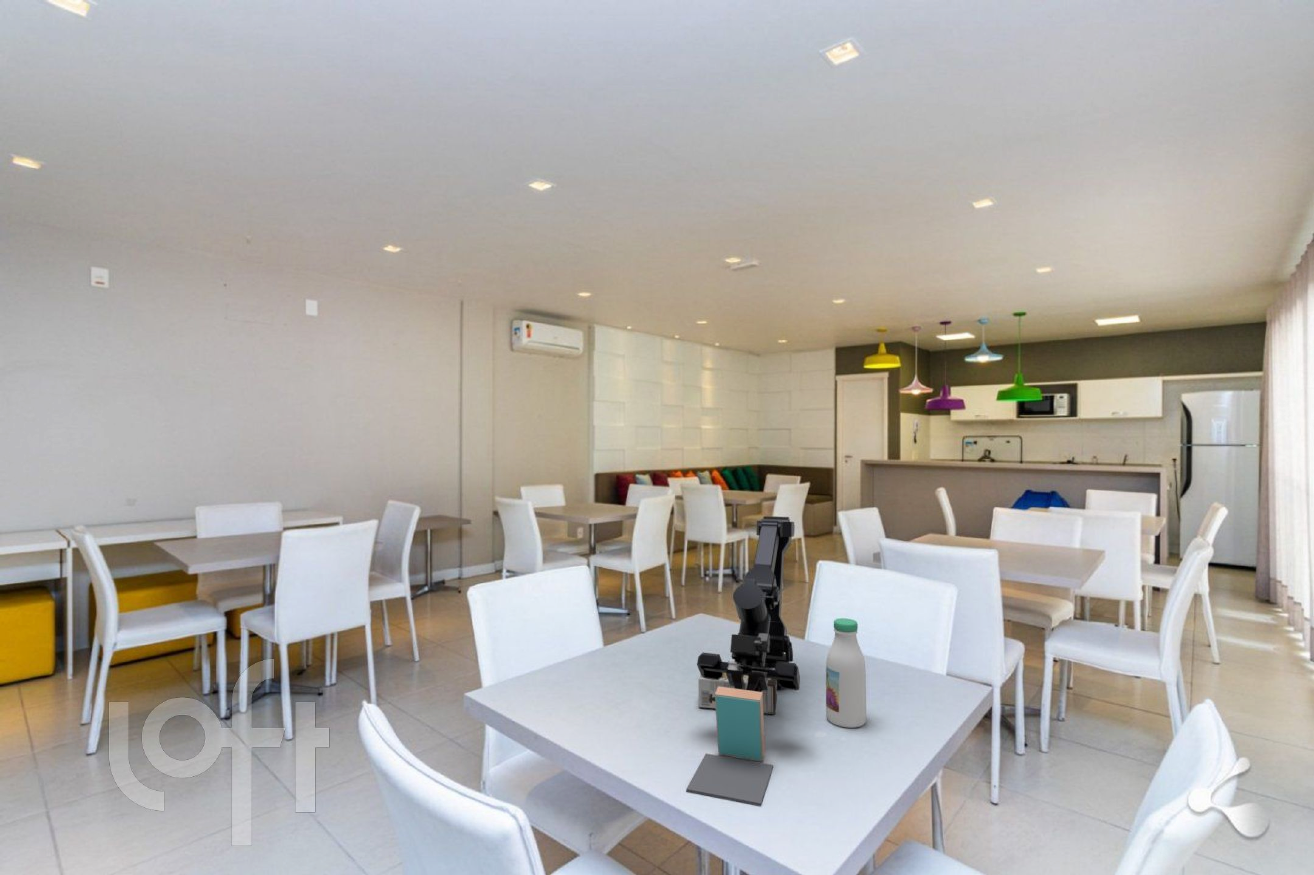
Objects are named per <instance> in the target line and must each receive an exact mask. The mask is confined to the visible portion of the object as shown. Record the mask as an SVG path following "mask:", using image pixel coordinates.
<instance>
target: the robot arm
mask: <svg viewBox="0 0 1314 875" xmlns="http://www.w3.org/2000/svg"><path fill="white" fill-rule="evenodd" d="M795 526H796V525H795V521H791V519H790V517H789V516H775V515H773V516H771V515H764V516H763V518H761V519H760V520H759V519H757V520H756V533H755V534H756V536H758V541H757V545H756V549H755V550H756V551H755V555H754V556H755V557H754V560H753V566H752V568H751V569H750V570H748V571H747V572H746V573H745V576H744V579H743V583H741V584H740V585H738V586H737V587H736V589H734V591H733V593H732V599H733V603H734V606H735V609H736V613H737V616H738V619H739V620H740V625H739V629H738V633H737V634H731V638H730V639H731V640H730V648H729V649H730V653H731V656H730V657H731V659H732V660H733V661H731V660H729V661H723V660H722V657H721V654H720V653H719V654H718V653H712V652H711V653H710V652H702V653H701V654H699V656H698V658H697V660H696V661H697V662H696V665H697V668H698V671H699V673H700V675H701V676H702V677H703V678H705V679H713V680H719V679H720V678H722V677H723V673H726V676H727V678H728V681H729V684H730V685H731V686H734V687H735V689H742V690H745V683H744V680H743V678H744V675H747V676H748V684H747V689H746V690H749V691H757V692H762V691H763V690H768V685H767V682H768V679H769V678H771V679H777V691H781V690H791V691H792V690H793V691H799V690H800V682H801V675H800V670H799V669H800V668H799V666H798V665H797V663H795V662H793V661H794V651H793V643H792V641H791V640H790V636H789V635H788V629H787V626H786V625H785V622H784V621H783V618H782V603H783V602H782V600H783V599H782V598H783V584H784V582H783V581H784V564H785V563H784V560H785V555H786V553H787V551H788V550H789V549H790V547H791V546H792V538H793V537H794V536H795V531H796V530H795Z"/></svg>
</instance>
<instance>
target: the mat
mask: <svg viewBox="0 0 1314 875" xmlns="http://www.w3.org/2000/svg"><path fill="white" fill-rule="evenodd" d="M773 769H774V765H773V764H770V763H763V762H760V761H754V760H748V759H742V758H736V757H731V756H725V755H719V754H717V755H716V754H711V753H705V754H704V756H703V758H702V759H701V761H700V763H699V765H698V767H697V769H696V771H695V772H694V773H693V776H692V778H691V780H690V781H689V783H688V785H687V786H686V789H685V790H686V792H688V793H693V794H696V795H697V794H698V795H703V796H708V797H713V798H718V799H722V800H729V801H733V802H734V801H735V802H739V803H744V804H749V805H754V806H759V807H760V806H762V804H763V801H764V797H765V794H766V791H767V787H768V784H769V782H770V779H771V775H772V773H773Z"/></svg>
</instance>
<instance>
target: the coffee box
mask: <svg viewBox="0 0 1314 875" xmlns="http://www.w3.org/2000/svg"><path fill="white" fill-rule="evenodd" d="M743 680H744V683H745V690H746V689H747V684H748V676H747V675H744V678H743ZM767 685H768V690H763V691H762V692H763V714H768V715H769V714H771V715H776V710H777V703H778V702H777V700H778V694H777V692H778V690H777V679H771V678H769V679H768V682H767ZM718 686H719V687H727V688H734V689H735V687H734V686H731V685H730V684H729V681H728V678H727V676H726V673H723V677H722V678H720V679H719V680H713V679H705V678H703V677H702V676H701V674H700V675H699V677H698V707H699V708H705V709H706V708H707V709H715V710H716V704H715V693H716V690H717V688H718Z"/></svg>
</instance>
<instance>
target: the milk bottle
mask: <svg viewBox="0 0 1314 875" xmlns="http://www.w3.org/2000/svg"><path fill="white" fill-rule="evenodd" d="M858 626H859V624H858V622H857V621H856V620H854V619H851V618H844V617H842V618H835V619H834V620H833V628H834V629H833V631H834V638H833V642H832V644H831V645H830V648H829V649H828V652H827V656H826V665H825V714H826V715H825V716H826V718H827V720H828V722H830V723H831V724H833V725H835V726H838V727H843V728H850V729H851V728H852V729H853V728H860V727H862V726H864V725H865V724H866V722H867V674H866V672H867V671H866V660H865V656H864V654H863V651H862V649H861V647H860V645H859V642H858V638H857V635H858Z"/></svg>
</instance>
